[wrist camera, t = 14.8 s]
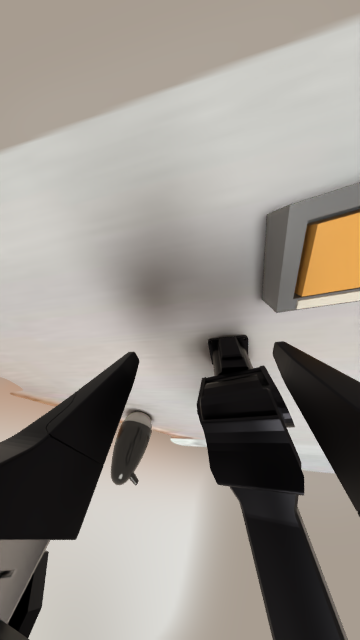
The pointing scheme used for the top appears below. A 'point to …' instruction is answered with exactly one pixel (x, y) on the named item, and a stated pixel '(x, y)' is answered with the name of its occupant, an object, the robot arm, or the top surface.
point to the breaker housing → (287, 248)
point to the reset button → (330, 255)
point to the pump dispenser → (130, 447)
